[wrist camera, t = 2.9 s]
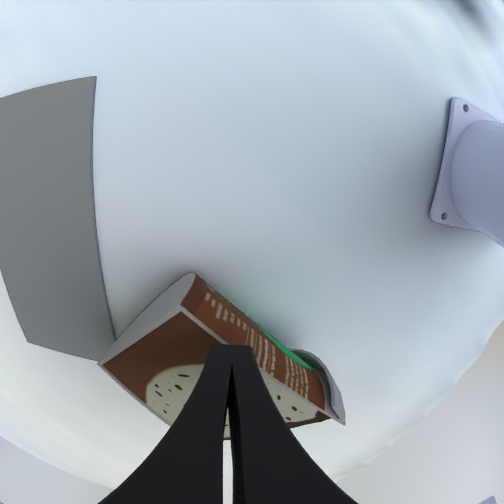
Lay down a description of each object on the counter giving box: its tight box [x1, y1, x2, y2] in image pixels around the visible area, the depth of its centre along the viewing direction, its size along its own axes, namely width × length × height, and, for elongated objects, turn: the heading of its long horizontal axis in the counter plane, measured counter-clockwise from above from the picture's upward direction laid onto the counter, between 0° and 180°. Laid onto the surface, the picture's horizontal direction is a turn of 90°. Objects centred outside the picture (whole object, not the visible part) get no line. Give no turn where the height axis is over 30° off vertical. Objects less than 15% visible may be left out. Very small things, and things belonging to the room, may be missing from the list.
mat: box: [0, 76, 116, 361], centre depth 15 cm, size 10×20×1 cm, turn 174°
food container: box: [97, 272, 346, 440], centre depth 16 cm, size 12×6×10 cm
